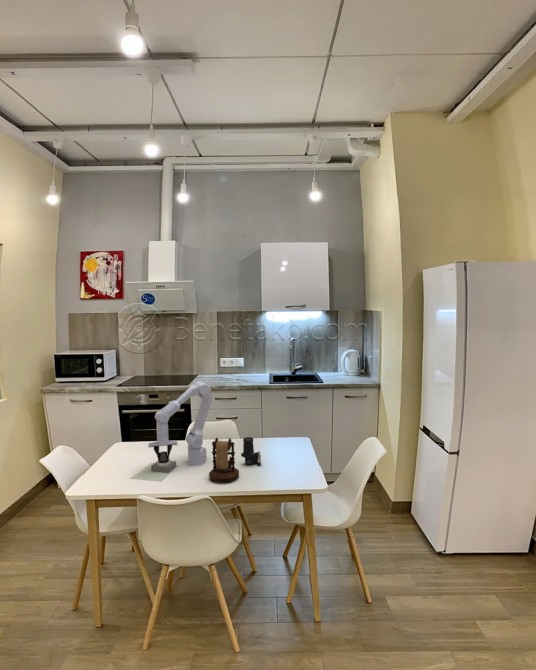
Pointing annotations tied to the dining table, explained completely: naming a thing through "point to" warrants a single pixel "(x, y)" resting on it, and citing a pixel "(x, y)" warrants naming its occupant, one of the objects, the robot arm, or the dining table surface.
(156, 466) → the camera body
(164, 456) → the lens
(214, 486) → the dining table surface
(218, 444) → the scroll
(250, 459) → the scope
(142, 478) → the mat
